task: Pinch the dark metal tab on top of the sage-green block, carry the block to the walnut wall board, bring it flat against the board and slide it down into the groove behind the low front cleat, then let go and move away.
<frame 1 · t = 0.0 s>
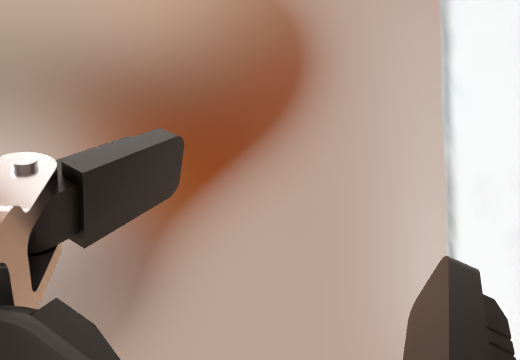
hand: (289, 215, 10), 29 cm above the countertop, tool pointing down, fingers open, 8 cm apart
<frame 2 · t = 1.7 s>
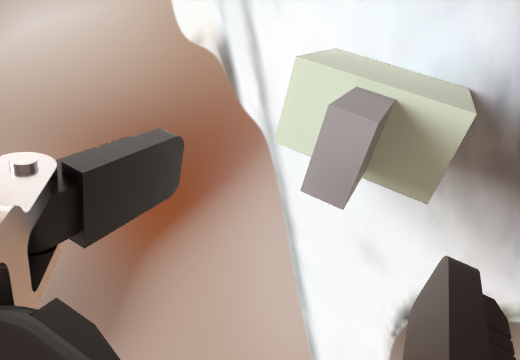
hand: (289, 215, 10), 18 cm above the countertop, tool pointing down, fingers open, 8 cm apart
tab block: (384, 102, 25), on the countertop
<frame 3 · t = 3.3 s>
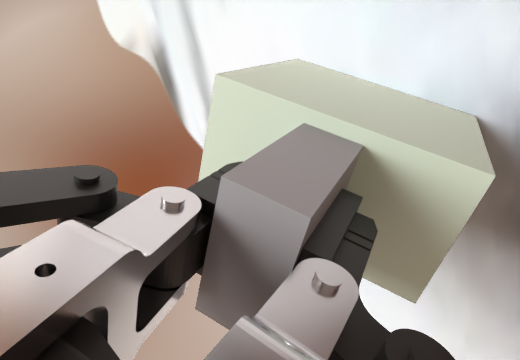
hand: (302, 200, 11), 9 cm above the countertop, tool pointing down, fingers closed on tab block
tab block: (361, 131, 19), on the countertop, touching gripper
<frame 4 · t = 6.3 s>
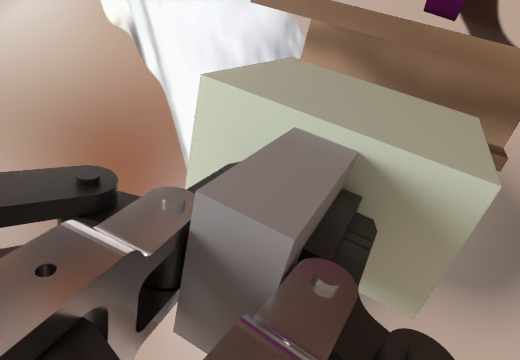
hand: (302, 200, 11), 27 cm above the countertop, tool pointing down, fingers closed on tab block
tab block: (358, 133, 18), point 19 cm above the countertop, touching gripper
cleat rack: (405, 75, 33), on the countertop
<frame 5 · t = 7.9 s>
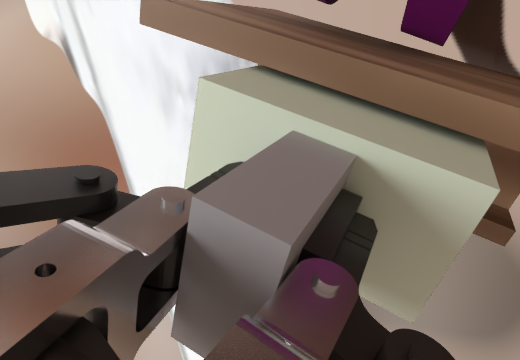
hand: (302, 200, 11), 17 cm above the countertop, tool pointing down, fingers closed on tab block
tab block: (358, 135, 18), point 9 cm above the countertop, touching gripper
cleat rack: (382, 110, 26), on the countertop
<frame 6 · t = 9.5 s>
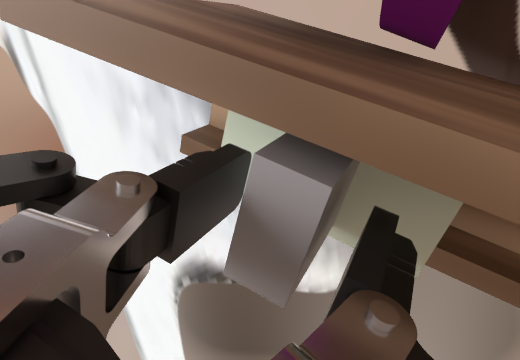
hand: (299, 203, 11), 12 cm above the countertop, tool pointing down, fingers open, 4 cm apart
tab block: (366, 124, 20), point 1 cm above the countertop, touching cleat rack
cleat rack: (366, 128, 21), on the countertop
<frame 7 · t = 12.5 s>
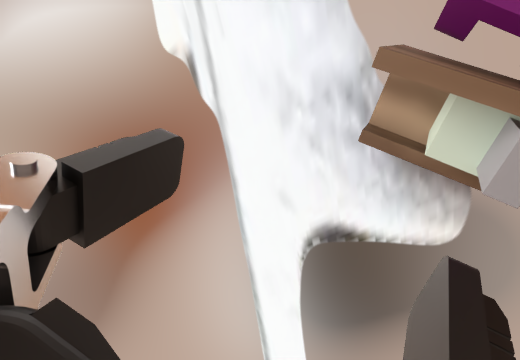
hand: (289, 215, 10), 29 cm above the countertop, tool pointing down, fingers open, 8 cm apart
tab block: (494, 126, 31), point 1 cm above the countertop, touching cleat rack
cleat rack: (489, 128, 32), on the countertop
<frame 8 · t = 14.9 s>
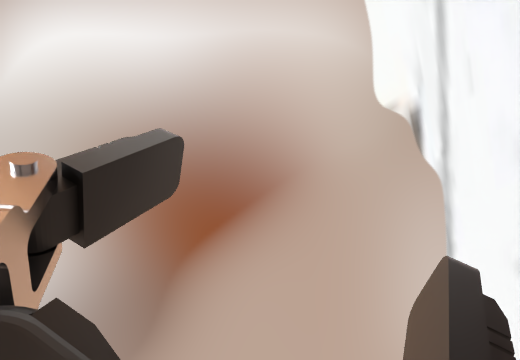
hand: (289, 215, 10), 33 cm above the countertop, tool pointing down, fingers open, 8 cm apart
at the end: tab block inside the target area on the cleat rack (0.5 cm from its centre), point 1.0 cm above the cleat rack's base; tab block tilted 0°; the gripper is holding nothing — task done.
